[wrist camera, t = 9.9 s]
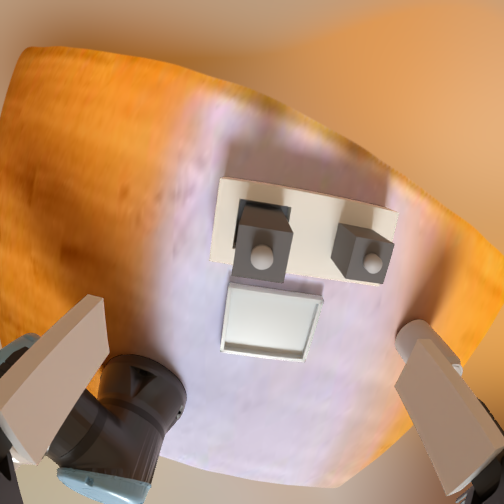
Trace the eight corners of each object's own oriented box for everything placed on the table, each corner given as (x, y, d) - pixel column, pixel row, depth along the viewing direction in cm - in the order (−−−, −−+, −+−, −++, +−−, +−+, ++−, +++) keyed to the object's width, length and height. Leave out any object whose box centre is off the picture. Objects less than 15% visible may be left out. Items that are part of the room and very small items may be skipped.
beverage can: (387, 351, 40) (417, 403, 28) (400, 316, 38) (438, 364, 26) (419, 350, 40) (452, 396, 28) (432, 316, 38) (472, 359, 26)
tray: (220, 345, 39) (219, 351, 38) (229, 282, 36) (228, 287, 35) (303, 356, 40) (304, 362, 38) (321, 295, 37) (323, 300, 35)
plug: (240, 236, 33) (230, 280, 21) (246, 202, 32) (238, 227, 20) (275, 242, 34) (284, 288, 21) (281, 208, 32) (295, 236, 20)
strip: (214, 250, 35) (196, 287, 25) (224, 176, 33) (208, 182, 22) (368, 274, 36) (403, 314, 25) (385, 207, 33) (431, 226, 23)
